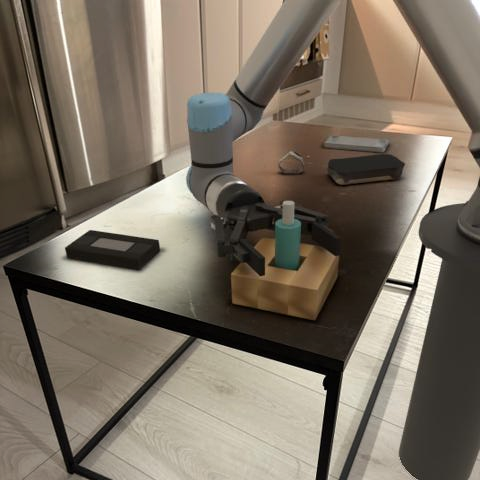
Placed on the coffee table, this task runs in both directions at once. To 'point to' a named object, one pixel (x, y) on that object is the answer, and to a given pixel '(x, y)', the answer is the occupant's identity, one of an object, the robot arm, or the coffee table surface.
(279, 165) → the wristwatch
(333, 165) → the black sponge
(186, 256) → the coffee table surface
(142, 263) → the vhs tape
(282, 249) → the teal lotion tube
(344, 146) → the phone
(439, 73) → the robot arm
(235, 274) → the holder
